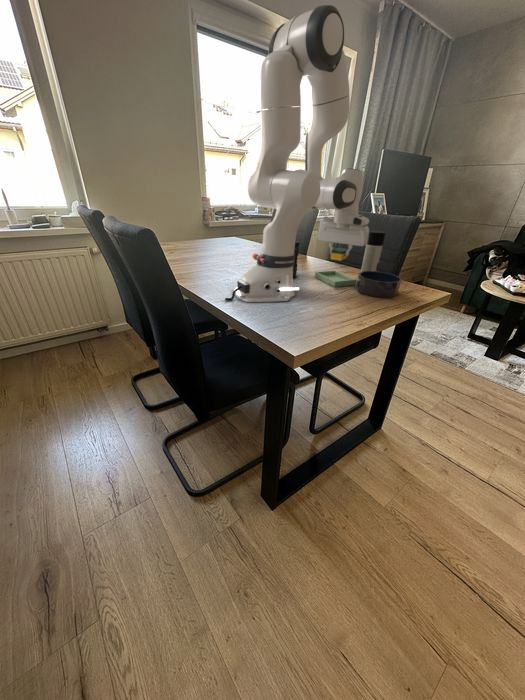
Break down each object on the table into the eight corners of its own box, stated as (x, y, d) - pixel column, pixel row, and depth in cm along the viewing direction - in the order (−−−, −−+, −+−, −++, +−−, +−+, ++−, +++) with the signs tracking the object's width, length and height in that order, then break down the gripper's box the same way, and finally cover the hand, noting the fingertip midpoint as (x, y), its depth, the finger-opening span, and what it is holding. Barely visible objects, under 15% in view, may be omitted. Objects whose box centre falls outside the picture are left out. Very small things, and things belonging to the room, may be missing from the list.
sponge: (340, 260, 114) (342, 251, 112) (330, 259, 116) (331, 250, 115) (346, 257, 119) (348, 249, 118) (336, 256, 122) (337, 247, 120)
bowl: (374, 300, 103) (378, 283, 100) (347, 287, 115) (350, 272, 112) (406, 296, 108) (411, 280, 105) (377, 284, 121) (381, 270, 118)
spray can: (376, 281, 124) (388, 233, 113) (361, 281, 124) (372, 232, 113) (371, 277, 129) (382, 231, 119) (357, 277, 129) (367, 230, 119)
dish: (334, 287, 115) (335, 281, 113) (314, 276, 127) (315, 271, 125) (355, 284, 118) (356, 279, 117) (334, 275, 130) (335, 270, 129)
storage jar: (278, 279, 120) (280, 242, 113) (271, 273, 128) (273, 238, 121) (299, 278, 123) (303, 242, 115) (291, 272, 131) (294, 238, 123)
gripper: (317, 216, 113) (313, 252, 120) (368, 221, 103) (360, 259, 110) (323, 215, 117) (319, 250, 124) (373, 220, 108) (365, 257, 115)
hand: (339, 254), depth 117 cm, fingers closed on sponge, 4 cm apart
